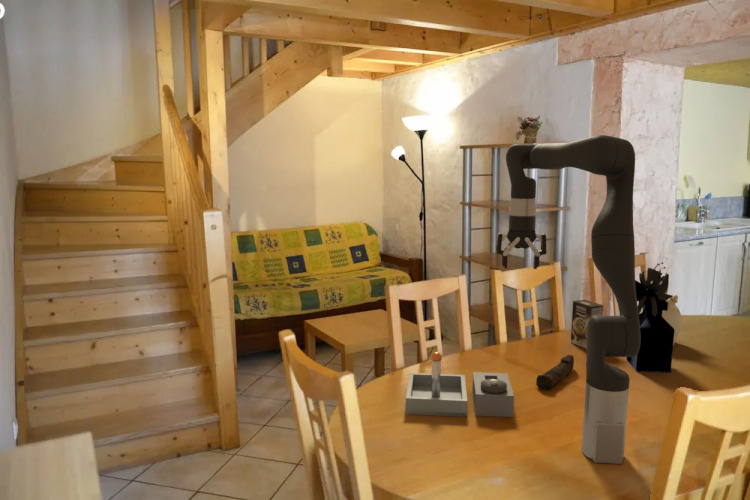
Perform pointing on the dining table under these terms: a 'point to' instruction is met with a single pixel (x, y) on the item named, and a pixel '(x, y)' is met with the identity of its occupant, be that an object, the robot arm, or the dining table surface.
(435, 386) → the pin
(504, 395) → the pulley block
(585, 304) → the coffee box
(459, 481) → the dining table surface
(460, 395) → the tray
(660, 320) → the vase
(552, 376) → the hand tool
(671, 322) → the jug
